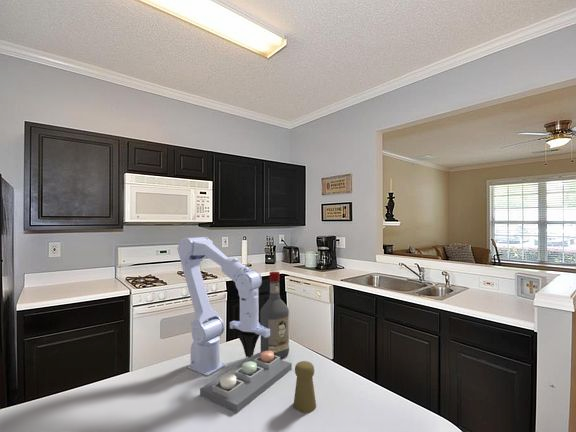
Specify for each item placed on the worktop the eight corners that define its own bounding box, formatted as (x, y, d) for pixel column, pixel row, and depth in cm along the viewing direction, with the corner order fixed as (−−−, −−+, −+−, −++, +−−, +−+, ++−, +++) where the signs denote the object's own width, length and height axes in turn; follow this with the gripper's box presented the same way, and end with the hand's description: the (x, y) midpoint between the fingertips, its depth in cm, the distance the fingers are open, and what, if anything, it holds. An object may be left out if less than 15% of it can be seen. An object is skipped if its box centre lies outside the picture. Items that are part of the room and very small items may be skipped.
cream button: (216, 386, 81) (216, 379, 81) (228, 378, 85) (228, 372, 85) (228, 391, 79) (228, 384, 79) (239, 383, 82) (239, 376, 82)
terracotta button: (257, 360, 96) (257, 354, 96) (265, 354, 100) (265, 349, 100) (268, 363, 94) (268, 357, 94) (276, 358, 97) (276, 352, 97)
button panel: (200, 395, 82) (200, 383, 82) (258, 358, 104) (258, 349, 104) (237, 413, 74) (237, 399, 74) (291, 369, 96) (291, 358, 96)
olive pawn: (315, 414, 74) (314, 370, 74) (291, 411, 75) (291, 368, 75) (317, 399, 80) (317, 359, 80) (295, 397, 81) (295, 357, 81)
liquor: (257, 353, 108) (257, 272, 109) (278, 346, 114) (277, 269, 114) (271, 362, 101) (271, 275, 101) (292, 355, 106) (291, 272, 107)
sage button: (239, 371, 88) (239, 365, 89) (248, 365, 92) (248, 360, 92) (250, 376, 86) (250, 369, 86) (259, 369, 90) (259, 363, 90)
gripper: (276, 311, 89) (276, 356, 89) (240, 304, 97) (240, 345, 96) (261, 317, 83) (262, 366, 83) (224, 309, 91) (225, 354, 91)
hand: (249, 355), depth 89 cm, fingers closed
